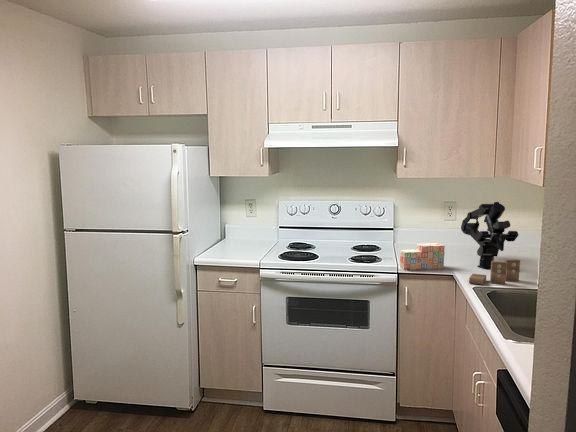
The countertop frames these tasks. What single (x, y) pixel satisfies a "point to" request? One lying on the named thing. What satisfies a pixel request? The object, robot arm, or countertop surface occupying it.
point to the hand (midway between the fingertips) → (502, 250)
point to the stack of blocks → (423, 257)
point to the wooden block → (477, 279)
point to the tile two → (512, 269)
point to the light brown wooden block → (498, 272)
